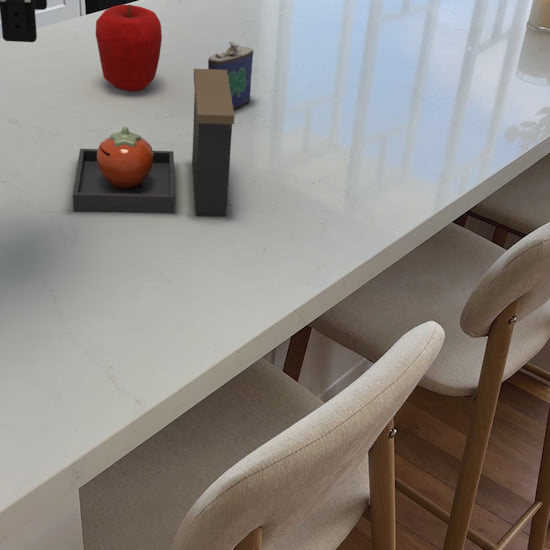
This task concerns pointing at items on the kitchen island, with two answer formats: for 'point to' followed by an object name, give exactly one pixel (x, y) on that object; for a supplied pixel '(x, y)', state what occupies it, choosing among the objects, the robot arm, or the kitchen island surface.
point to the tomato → (125, 159)
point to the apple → (129, 46)
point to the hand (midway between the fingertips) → (26, 23)
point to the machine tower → (211, 141)
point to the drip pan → (105, 197)
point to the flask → (236, 72)
